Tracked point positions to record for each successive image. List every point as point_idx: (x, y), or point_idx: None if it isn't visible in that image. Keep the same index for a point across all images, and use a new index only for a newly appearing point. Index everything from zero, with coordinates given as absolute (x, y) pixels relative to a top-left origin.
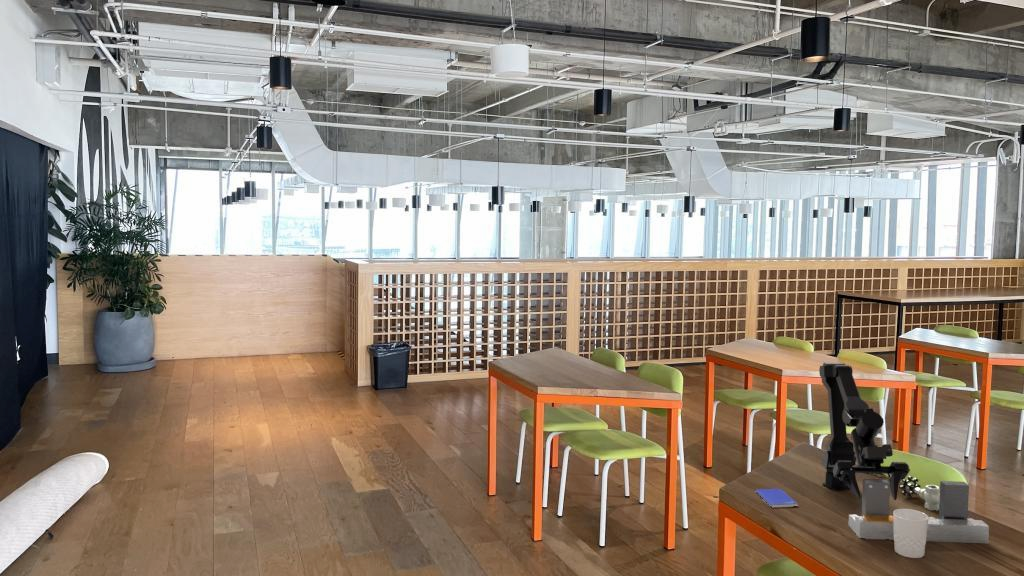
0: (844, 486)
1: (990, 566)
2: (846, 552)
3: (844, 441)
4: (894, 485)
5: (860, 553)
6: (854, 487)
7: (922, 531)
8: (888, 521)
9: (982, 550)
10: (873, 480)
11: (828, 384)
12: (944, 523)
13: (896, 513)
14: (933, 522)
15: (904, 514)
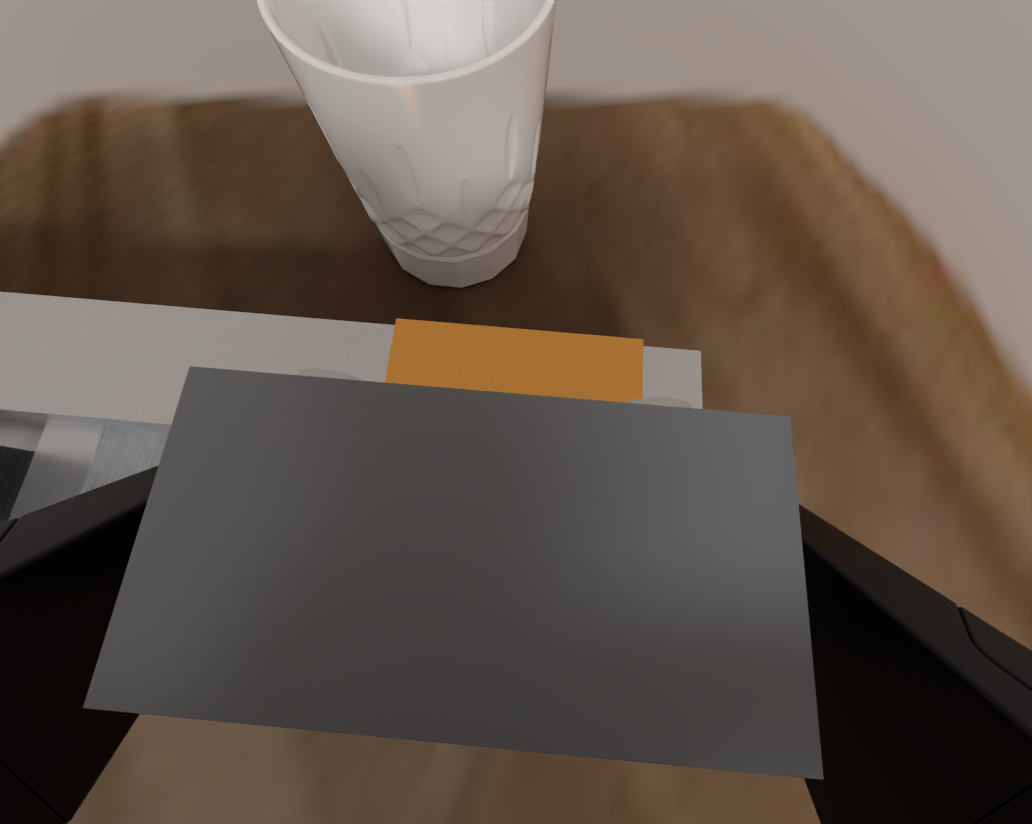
0: None
1: (161, 104)
2: (779, 229)
3: None
4: (66, 535)
5: (711, 219)
6: (905, 584)
7: (396, 5)
8: (483, 327)
9: (49, 251)
10: (539, 591)
11: None
12: (53, 319)
13: (489, 87)
14: (124, 336)
15: (403, 123)
